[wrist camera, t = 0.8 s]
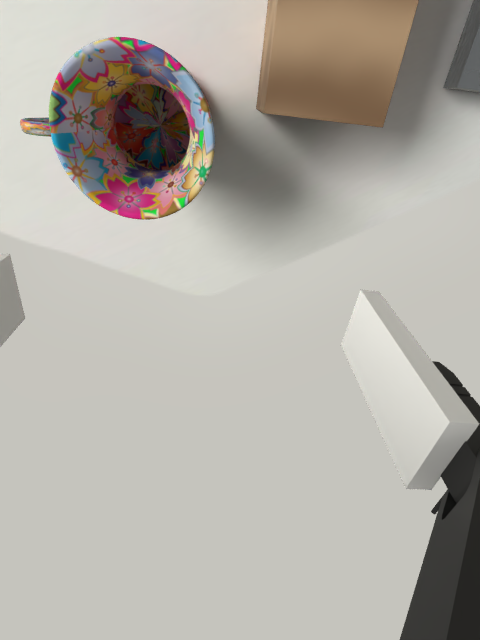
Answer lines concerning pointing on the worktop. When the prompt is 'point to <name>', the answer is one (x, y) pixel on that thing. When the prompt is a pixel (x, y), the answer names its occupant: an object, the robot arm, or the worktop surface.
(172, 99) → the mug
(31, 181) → the worktop surface
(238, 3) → the worktop surface
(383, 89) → the brown wooden block
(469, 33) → the mount rail
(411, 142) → the worktop surface
